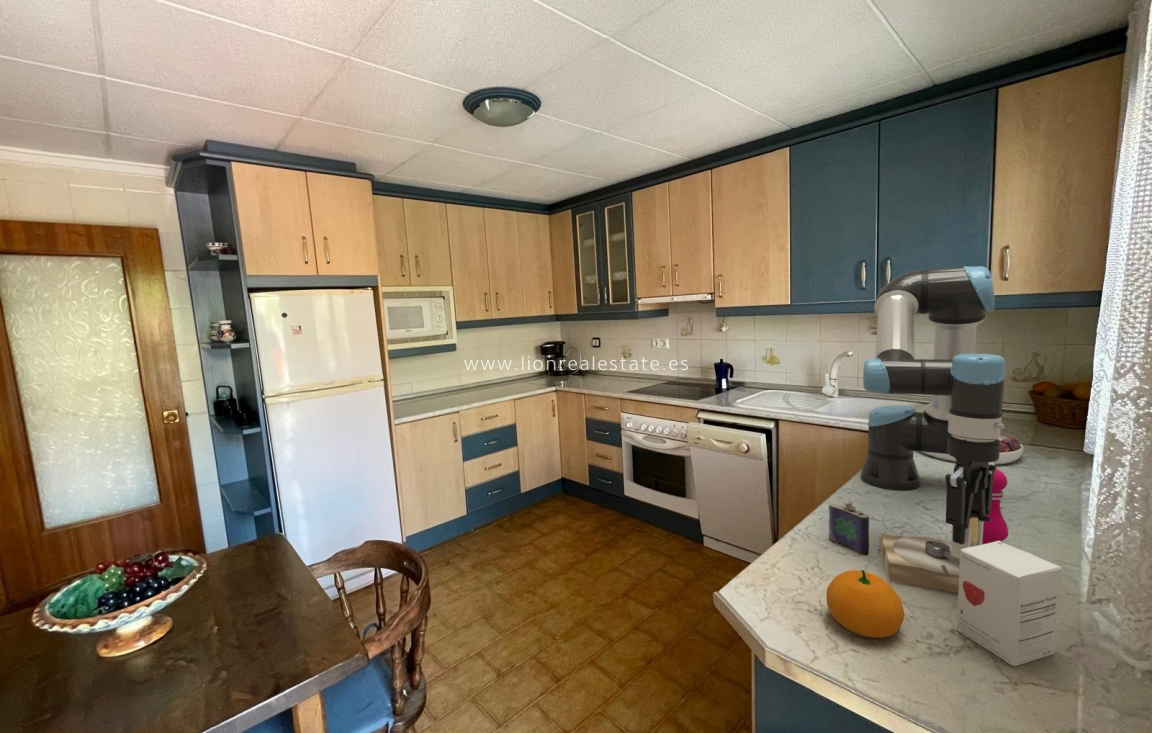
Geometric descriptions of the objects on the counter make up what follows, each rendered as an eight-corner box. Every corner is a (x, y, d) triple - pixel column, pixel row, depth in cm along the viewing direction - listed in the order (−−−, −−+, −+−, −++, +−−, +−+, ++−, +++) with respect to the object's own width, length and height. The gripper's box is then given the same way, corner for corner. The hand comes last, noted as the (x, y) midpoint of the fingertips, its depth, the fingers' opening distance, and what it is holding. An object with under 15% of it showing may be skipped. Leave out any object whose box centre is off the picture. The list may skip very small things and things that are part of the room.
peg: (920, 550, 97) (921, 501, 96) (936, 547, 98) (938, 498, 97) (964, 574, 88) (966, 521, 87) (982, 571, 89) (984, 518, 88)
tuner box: (879, 548, 107) (880, 530, 106) (980, 562, 99) (981, 544, 98) (890, 584, 94) (890, 564, 93) (1007, 604, 86) (1008, 582, 85)
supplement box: (953, 629, 80) (957, 547, 78) (994, 619, 82) (998, 538, 80) (1013, 668, 71) (1019, 577, 70) (1057, 655, 73) (1063, 566, 71)
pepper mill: (1015, 556, 100) (1021, 467, 98) (977, 554, 102) (981, 466, 99) (993, 539, 107) (997, 456, 105) (957, 538, 109) (960, 455, 106)
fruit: (813, 621, 84) (813, 569, 83) (844, 595, 91) (845, 547, 90) (885, 658, 75) (887, 600, 74) (915, 626, 81) (916, 573, 80)
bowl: (901, 456, 166) (902, 435, 165) (922, 437, 186) (922, 418, 185) (1017, 475, 144) (1018, 450, 143) (1026, 451, 163) (1027, 429, 162)
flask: (826, 539, 112) (826, 497, 111) (834, 536, 113) (834, 494, 112) (864, 557, 104) (865, 511, 102) (872, 553, 105) (873, 508, 104)
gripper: (974, 449, 80) (966, 577, 83) (1020, 434, 88) (1011, 551, 91) (926, 439, 87) (919, 557, 90) (972, 426, 94) (965, 535, 97)
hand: (965, 554), depth 90 cm, fingers open, 4 cm apart
